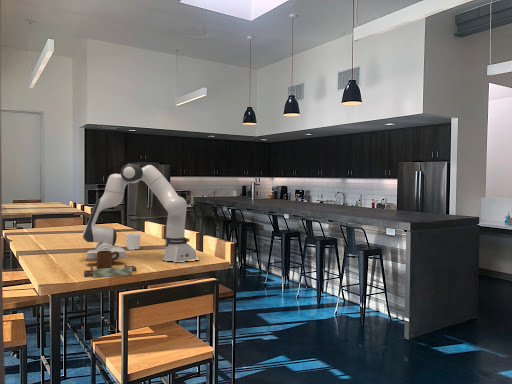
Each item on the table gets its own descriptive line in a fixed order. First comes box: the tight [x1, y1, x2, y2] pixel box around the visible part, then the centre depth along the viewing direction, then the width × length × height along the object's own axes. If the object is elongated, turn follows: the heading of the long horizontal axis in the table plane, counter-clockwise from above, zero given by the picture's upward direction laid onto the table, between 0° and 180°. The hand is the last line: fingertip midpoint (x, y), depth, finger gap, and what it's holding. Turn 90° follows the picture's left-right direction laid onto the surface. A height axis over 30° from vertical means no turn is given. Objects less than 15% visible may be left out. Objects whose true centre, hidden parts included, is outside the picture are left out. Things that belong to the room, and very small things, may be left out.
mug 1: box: [96, 251, 120, 269], centre depth 221 cm, size 12×8×9 cm, turn 132°
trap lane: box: [83, 264, 137, 279], centre depth 212 cm, size 26×17×4 cm, turn 116°
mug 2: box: [124, 232, 142, 251], centre depth 283 cm, size 11×9×10 cm
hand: (107, 256), depth 224 cm, fingers closed
